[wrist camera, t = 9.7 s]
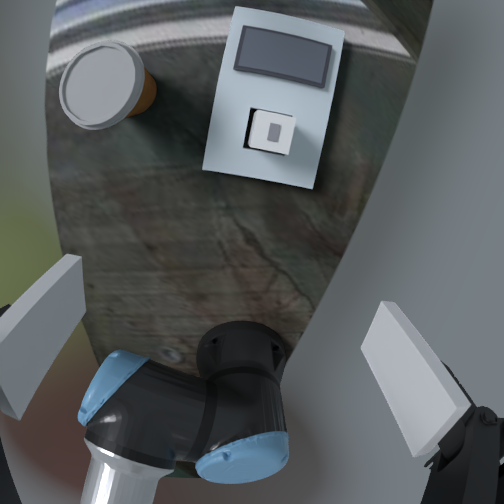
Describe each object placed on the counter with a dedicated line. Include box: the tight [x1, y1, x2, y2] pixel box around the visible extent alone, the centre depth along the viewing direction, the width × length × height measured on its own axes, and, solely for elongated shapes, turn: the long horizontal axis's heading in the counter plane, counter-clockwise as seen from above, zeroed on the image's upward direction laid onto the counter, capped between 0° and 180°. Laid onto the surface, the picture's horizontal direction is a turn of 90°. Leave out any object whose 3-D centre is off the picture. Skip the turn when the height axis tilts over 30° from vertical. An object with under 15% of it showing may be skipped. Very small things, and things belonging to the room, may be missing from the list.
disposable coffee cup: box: [59, 40, 157, 130], centre depth 27 cm, size 10×10×12 cm
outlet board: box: [202, 6, 345, 189], centre depth 33 cm, size 22×14×2 cm, turn 169°
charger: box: [248, 110, 296, 155], centre depth 32 cm, size 4×4×8 cm
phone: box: [233, 25, 333, 89], centre depth 30 cm, size 6×11×1 cm, turn 79°
